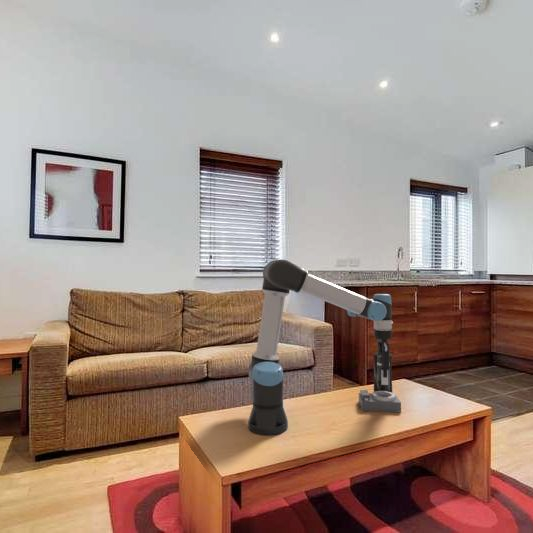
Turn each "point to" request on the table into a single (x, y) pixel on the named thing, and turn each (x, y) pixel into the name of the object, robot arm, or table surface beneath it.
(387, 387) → the lens
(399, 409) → the camera body
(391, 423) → the table surface
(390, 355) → the container
